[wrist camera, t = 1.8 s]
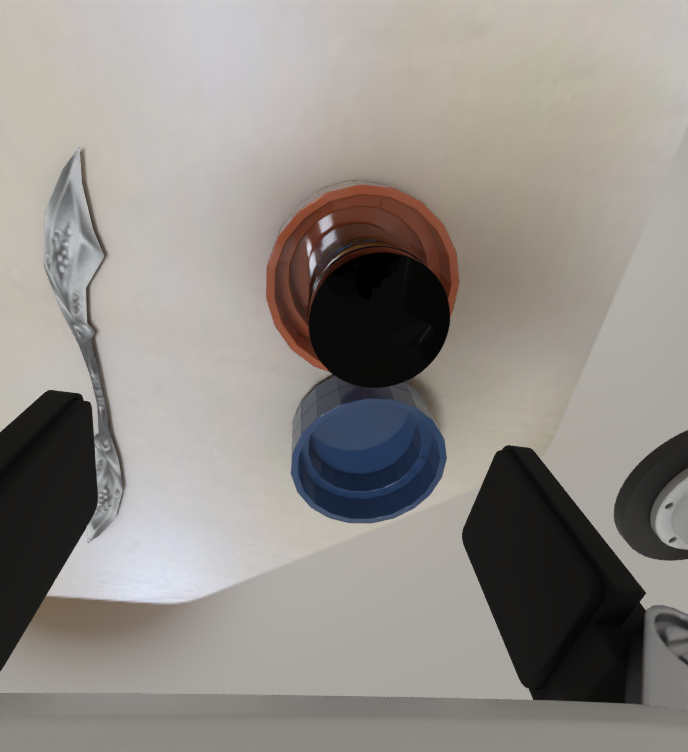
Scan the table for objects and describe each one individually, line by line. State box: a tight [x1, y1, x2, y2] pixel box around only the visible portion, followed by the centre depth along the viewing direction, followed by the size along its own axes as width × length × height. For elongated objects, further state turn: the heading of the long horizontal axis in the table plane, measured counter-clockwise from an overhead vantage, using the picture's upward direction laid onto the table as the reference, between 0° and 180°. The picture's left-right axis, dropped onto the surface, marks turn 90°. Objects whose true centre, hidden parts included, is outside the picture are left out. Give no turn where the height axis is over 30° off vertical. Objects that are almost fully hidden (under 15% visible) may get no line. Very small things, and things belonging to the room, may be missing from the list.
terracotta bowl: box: [266, 181, 459, 372], centre depth 27 cm, size 11×11×5 cm
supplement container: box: [307, 223, 450, 388], centre depth 25 cm, size 7×7×10 cm
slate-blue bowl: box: [291, 376, 447, 523], centre depth 33 cm, size 11×11×5 cm
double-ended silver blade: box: [44, 147, 123, 543], centre depth 31 cm, size 32×1×5 cm
